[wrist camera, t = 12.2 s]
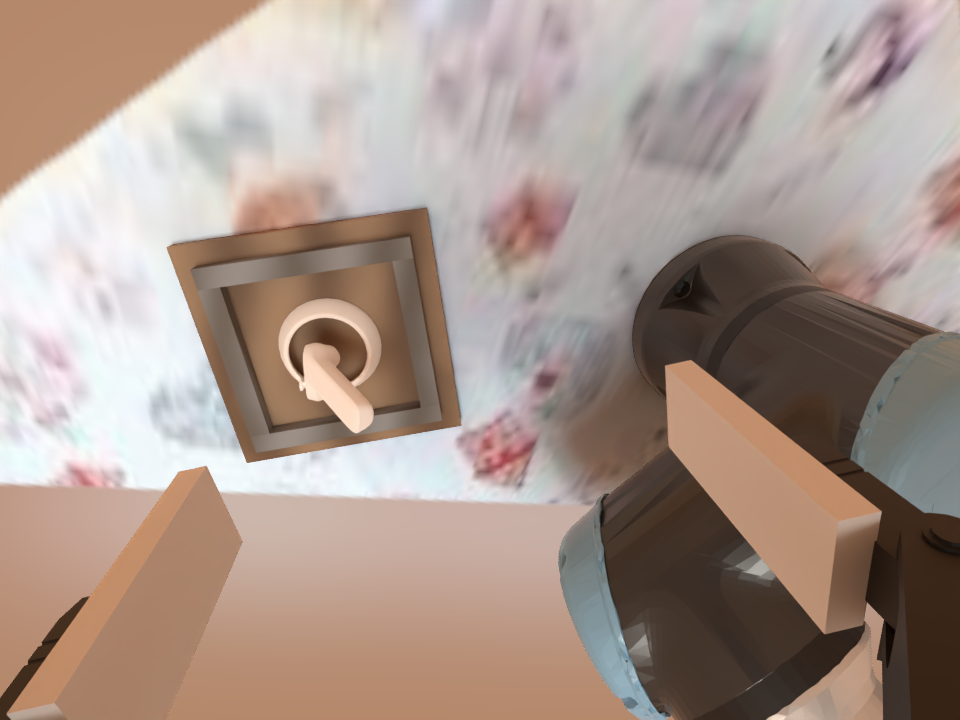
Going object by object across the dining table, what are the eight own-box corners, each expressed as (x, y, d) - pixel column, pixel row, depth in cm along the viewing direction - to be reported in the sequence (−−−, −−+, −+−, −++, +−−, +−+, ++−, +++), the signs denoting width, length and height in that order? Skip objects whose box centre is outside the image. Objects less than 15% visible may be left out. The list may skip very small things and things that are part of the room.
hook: (440, 433, 38) (357, 479, 34) (355, 357, 45) (277, 388, 41) (443, 350, 34) (347, 391, 30) (347, 279, 41) (260, 306, 37)
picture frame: (426, 207, 38) (427, 212, 36) (460, 419, 45) (462, 432, 43) (172, 244, 37) (159, 251, 35) (250, 456, 44) (242, 471, 42)
